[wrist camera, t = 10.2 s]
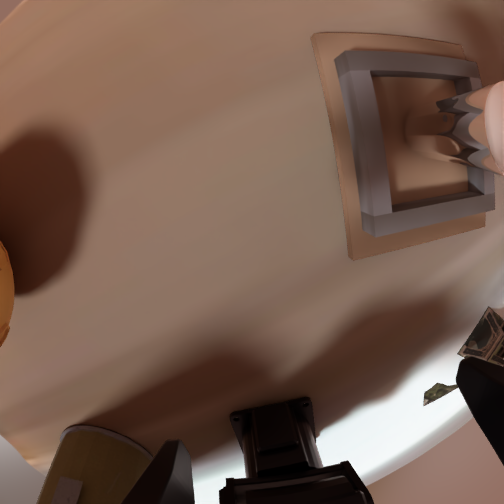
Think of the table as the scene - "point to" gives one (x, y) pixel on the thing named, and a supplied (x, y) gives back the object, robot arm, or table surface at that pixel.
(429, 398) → the eiffel tower figurine
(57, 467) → the canister
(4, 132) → the table surface
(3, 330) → the stress ball
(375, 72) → the frame
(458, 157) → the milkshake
